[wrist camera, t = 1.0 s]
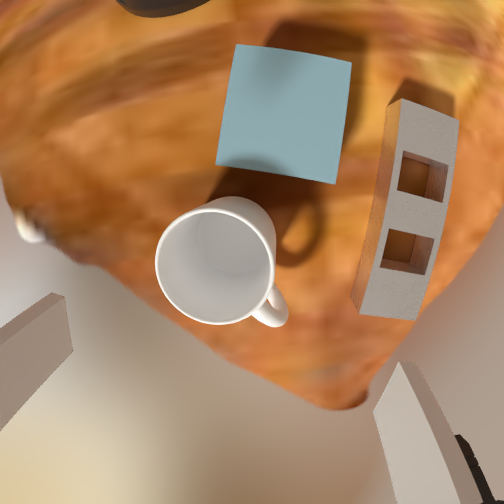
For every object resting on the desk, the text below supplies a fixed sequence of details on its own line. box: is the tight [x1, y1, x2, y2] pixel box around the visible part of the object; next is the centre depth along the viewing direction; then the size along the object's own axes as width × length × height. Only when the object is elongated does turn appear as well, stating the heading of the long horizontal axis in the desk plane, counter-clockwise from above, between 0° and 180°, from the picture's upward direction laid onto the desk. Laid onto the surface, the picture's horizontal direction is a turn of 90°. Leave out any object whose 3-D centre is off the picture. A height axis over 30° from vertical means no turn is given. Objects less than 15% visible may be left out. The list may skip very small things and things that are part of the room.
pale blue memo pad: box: [216, 44, 352, 184], centre depth 23 cm, size 10×9×6 cm
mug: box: [155, 196, 288, 327], centre depth 25 cm, size 12×8×10 cm
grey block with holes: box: [350, 98, 459, 321], centre depth 26 cm, size 20×6×4 cm, turn 171°
